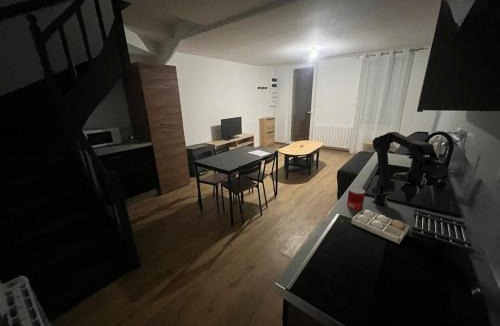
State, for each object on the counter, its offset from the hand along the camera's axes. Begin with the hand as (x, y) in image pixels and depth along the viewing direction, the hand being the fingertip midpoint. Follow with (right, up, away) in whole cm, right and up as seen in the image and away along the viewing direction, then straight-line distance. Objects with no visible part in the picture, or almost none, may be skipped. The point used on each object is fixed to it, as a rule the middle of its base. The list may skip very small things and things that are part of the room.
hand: (410, 199), depth 100 cm
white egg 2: (-18, -11, +6) cm, 22 cm away
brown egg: (-9, -13, -3) cm, 16 cm away
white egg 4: (-13, -12, +1) cm, 18 cm away
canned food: (-18, -8, +17) cm, 26 cm away
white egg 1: (-23, -12, +2) cm, 26 cm away
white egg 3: (-18, -14, -3) cm, 23 cm away
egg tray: (-16, -13, -1) cm, 21 cm away
